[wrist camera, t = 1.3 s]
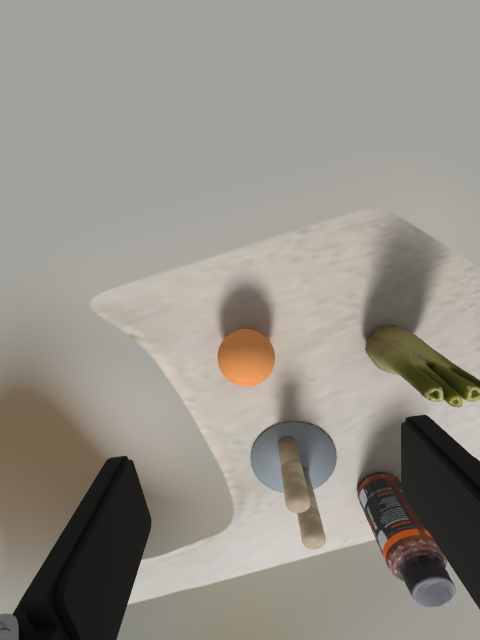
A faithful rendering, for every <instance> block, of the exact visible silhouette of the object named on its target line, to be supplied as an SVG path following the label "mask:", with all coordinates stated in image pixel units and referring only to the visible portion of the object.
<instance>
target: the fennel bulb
mask: <svg viewBox="0 0 480 640" xmlns="http://www.w3.org/2000/svg"><path fill="white" fill-rule="evenodd" d="M365 350H366V353H367V354H368V356H369V357H370V358H371V360H372V361H373V363H374V364H375V365H376V366H377V367H378V368H380V369H381V370H383V371H385V372H388V373H391V374H395V375H400V376H402V377H403V378H404V379H405V380H407V381H408V382H409V383H410V384H411V385H412V386H413V387H414V388H415V389H416V390H418V391H419V392H420V393H421V394H422V395H423V396H424V397H425V398H427V399H428V400H432V401H436V402H440V401H442V400H443V399H444V400H445V401H446V402H447V403H448V404H450V405H451V406H454V407H461V406H462V398H463V399H465V400H467V401H470V402H474V401H476V400H479V399H480V380H478V379H476V378H475V377H474V376H472V375H470V374H469V373H467V372H465V371H464V370H462V369H461V368H459V367H458V366H456V365H455V364H453V363H452V362H450V361H449V360H448V359H446V358H445V357H444V356H442V355H441V354H439V353H438V352H437V351H435V350H434V349H432V348H431V347H430V346H428V345H427V344H426V343H425V342H424V341H423V340H421V339H420V338H418V337H417V336H416V335H414V334H413V333H411V332H409V331H407V330H405V329H402V328H399V327H397V326H392V325H387V326H382V327H380V328H378V329H377V330H375V331H374V333H373V334H372V336H370V338H369V339H368V340H367V343H366V348H365ZM461 397H462V398H461Z"/></svg>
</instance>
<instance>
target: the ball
mask: <svg viewBox="0 0 480 640" xmlns="http://www.w3.org/2000/svg"><path fill="white" fill-rule="evenodd" d="M274 361H275V354H274V349H273V346H272V344H271V342H270V341H269V340H268V338H267V337H266V336H264V335H263V334H262V333H260V332H258V331H256V330H253V329H239V330H236V331H234V332H232V333H230V334H229V335H228V336H227V337H226V338H225V339H224V340H223V341H222V343H221V345H220V347H219V351H218V364H219V367H220V370H221V372H222V373H223V375H224V376H225V377H226V378H227V379H228V380H229V381H231V382H232V383H234V384H236V385H240V386H253V385H256V384H259V383H260V382H262V381H263V380H265V379H266V378H267V377H268V376H269V374H270V373H271V371H272V369H273V366H274Z"/></svg>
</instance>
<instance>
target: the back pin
mask: <svg viewBox="0 0 480 640" xmlns="http://www.w3.org/2000/svg"><path fill="white" fill-rule="evenodd" d="M302 469H303V473H304V477H305V481H306V486H307V490H308V494H309V498H310V507H309V508H308V510H306V511H305V512H302V513H297V515H298V521H299V526H300V532H301V537H302V543H303V544H304V546H306V547H307V548H310V549H318V548H320V547H322V546H323V545H324V544H325V542H326V538H325V534H324V530H323V526H322V522H321V518H320V514H319V511H318V507H317V503H316V499H315V495H314V491H313V488H312V484H311V480H310V476H309V472H308V470H307V469H305V468H303V467H302Z"/></svg>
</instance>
